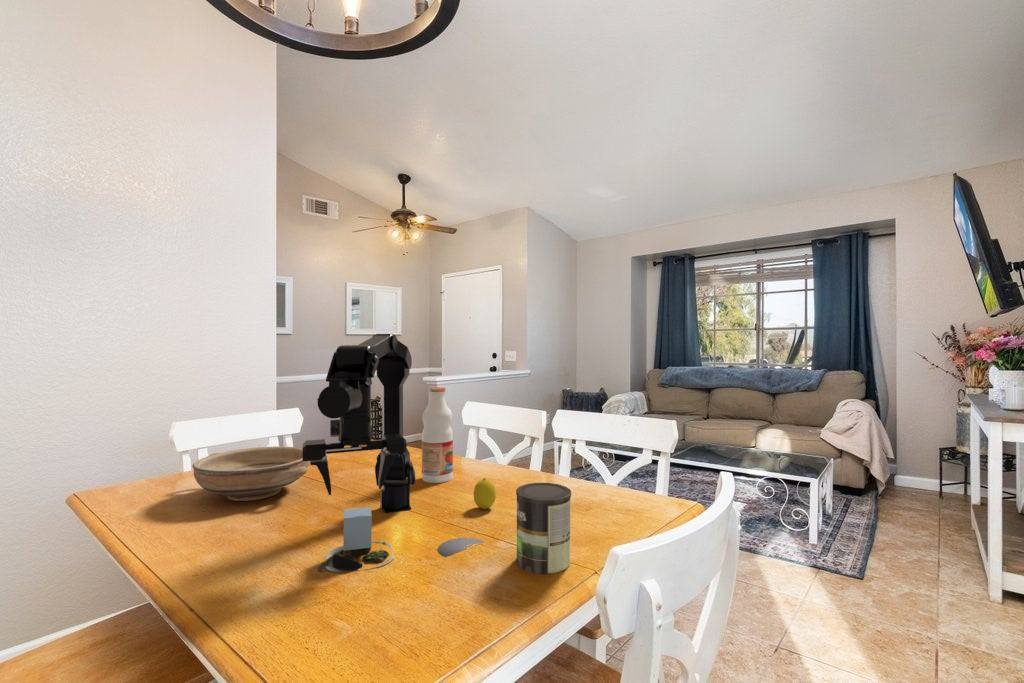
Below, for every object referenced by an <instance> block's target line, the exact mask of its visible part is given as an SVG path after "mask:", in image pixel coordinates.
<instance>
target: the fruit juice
mask: <svg viewBox="0 0 1024 683" xmlns="http://www.w3.org/2000/svg"><path fill="white" fill-rule="evenodd" d="M428 391H429V392H428V393H429V394H430V397H429V401H428V404H427V407H426V408H425V409H424V411H423V412H422V415H421V416H422V419H421V420H422V424H423V429H422V432H421V479H422V481H423V482H425V483H429V484H440V483H441V484H442V483H447V482H449V481H451V480H453V477H454V476H453V475H454V432H453V428H452V422H453V412H452V411H451V409H450V407H449V406H448V404H447V401H446V398H445V394H446V391H447V390H446V387H445V386H434V387H433V386H432V387H429V390H428Z"/></svg>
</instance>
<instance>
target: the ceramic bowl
mask: <svg viewBox="0 0 1024 683" xmlns="http://www.w3.org/2000/svg"><path fill="white" fill-rule="evenodd" d="M309 464H310V461H303V447H295V446H258V447H248V448H241V449H233V450H228V451H224V452H223V451H222V452H216V453H214V452H213V453H211V454H208V455H207V456H204V457H202V458H199V459H198V460H196V461H195V462H194V463H193V464H192V468H193V477H194V479H195V482H196V483H197V484H198V485H199V487H201V488H202V489H203V490H205V491H207V492H210V493H213V494H217V495H223V496H226V498H227V499H228V500H229V501H235V502H249V501H257V500H262V499H263V500H264V499H267V498H270V497H273V496H275V495H278V494H279V493H280V492H281V490H282V488H285V487H287V486H289V485H291V484H293V483H295V482H296V481H298V480H299V479H301V477H302V476H304V475H305V474H307V472H308V467H309Z"/></svg>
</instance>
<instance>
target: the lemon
mask: <svg viewBox="0 0 1024 683" xmlns="http://www.w3.org/2000/svg"><path fill="white" fill-rule="evenodd" d="M496 494H497V490H496V488H495V485H494V483H493V482H492V481H491V480H489V479H487V478H486V477H483V478H482V479H481V480H479V481H477V483H476V484H475V486H474V489H473V500H474V503H475V505H476V506H477V507H478V508H480V509H482V510H488V509H489V508H491V507H492V506H493V505H494V503H495V501H496V499H497V498H496V497H497V495H496Z"/></svg>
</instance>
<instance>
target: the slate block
mask: <svg viewBox="0 0 1024 683" xmlns="http://www.w3.org/2000/svg"><path fill="white" fill-rule="evenodd" d="M372 516H373V515H372V508H371V506H369V507H366V506H365V507H357V508H348V509H347V508H346V509H344V510H343V545H342V546H343V551H346V550H354V549H362V548H370V547H371V546H372V543H371V542H372V533H373V532H372V528H373V527H372V526H373V524H372V523H373V522H372V520H373V518H372ZM371 548H372V547H371Z"/></svg>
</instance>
